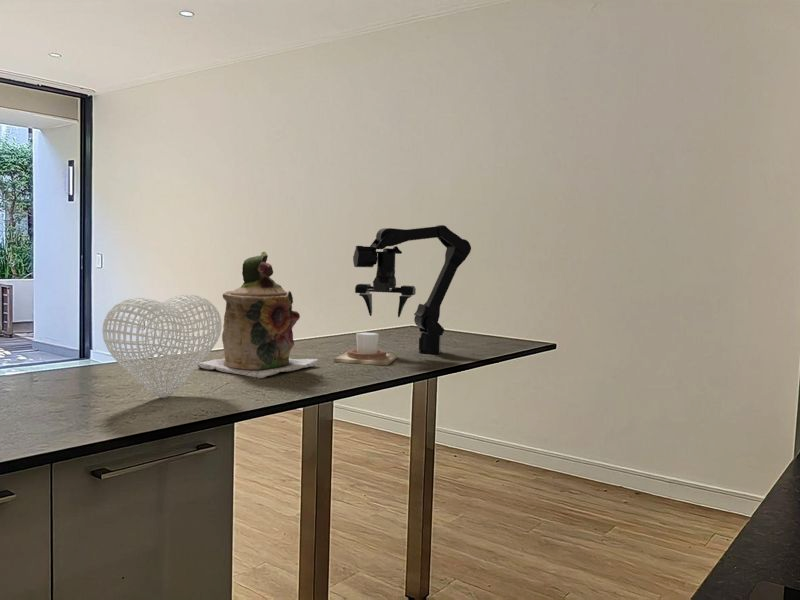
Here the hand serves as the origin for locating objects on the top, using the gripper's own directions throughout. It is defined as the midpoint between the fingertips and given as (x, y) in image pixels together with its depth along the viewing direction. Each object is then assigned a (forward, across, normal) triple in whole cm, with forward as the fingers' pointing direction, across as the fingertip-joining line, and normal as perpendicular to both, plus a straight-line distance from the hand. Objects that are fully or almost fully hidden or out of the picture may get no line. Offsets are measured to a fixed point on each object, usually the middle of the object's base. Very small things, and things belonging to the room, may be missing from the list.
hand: (384, 316), depth 228 cm
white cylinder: (+11, -2, -14) cm, 18 cm away
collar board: (+12, -2, -14) cm, 19 cm away
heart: (+12, -32, -80) cm, 87 cm away
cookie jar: (+12, -27, -38) cm, 48 cm away
